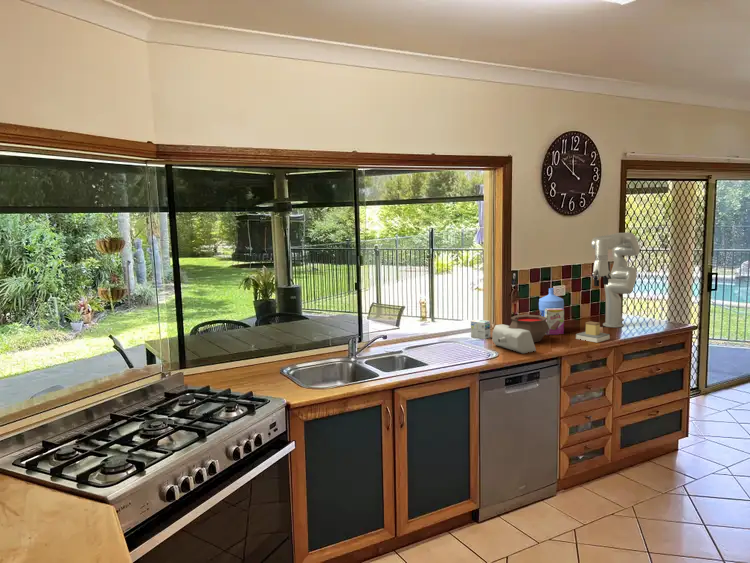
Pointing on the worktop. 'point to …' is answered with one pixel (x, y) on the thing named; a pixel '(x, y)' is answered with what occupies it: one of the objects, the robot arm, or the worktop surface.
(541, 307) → the water jug
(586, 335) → the podium
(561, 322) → the candy bar box
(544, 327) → the brown pot
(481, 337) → the light bulb box
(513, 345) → the tank
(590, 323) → the carton
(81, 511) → the worktop surface
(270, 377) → the worktop surface
